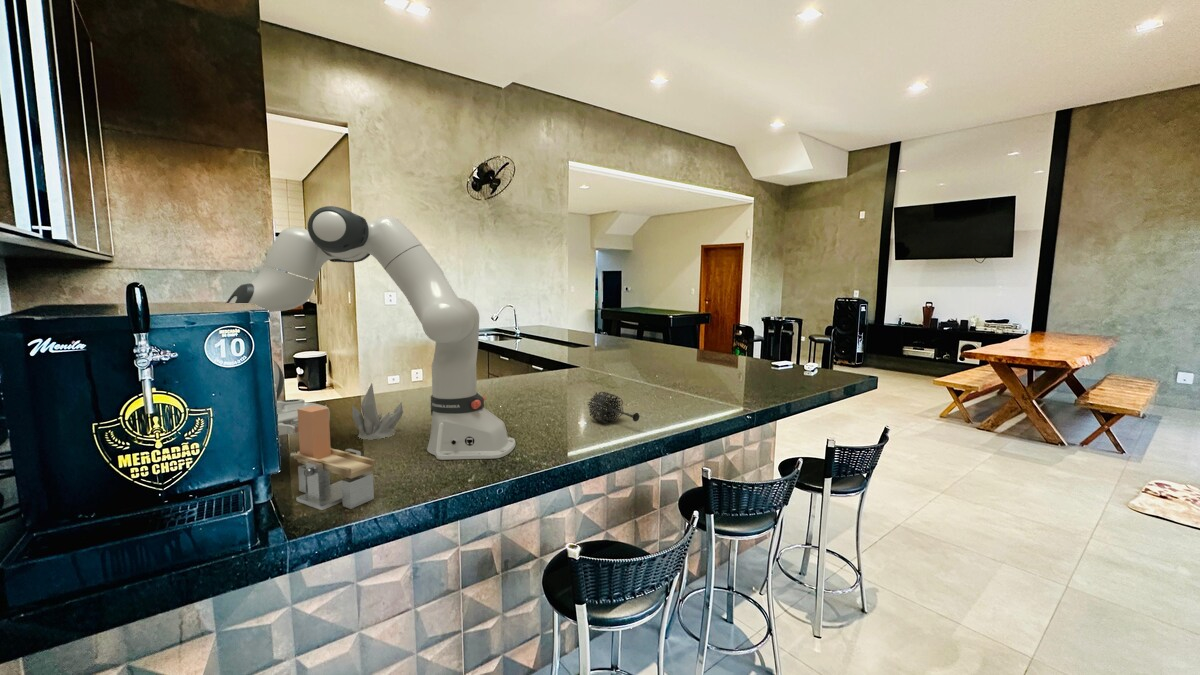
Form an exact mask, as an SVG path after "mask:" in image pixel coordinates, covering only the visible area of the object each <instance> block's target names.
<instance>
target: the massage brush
mask: <svg viewBox="0 0 1200 675" xmlns="http://www.w3.org/2000/svg"><path fill="white" fill-rule="evenodd" d="M623 403H624V402H623V400H622V398H620V397H619V396H618V395H615V394H613V393H610V392H605V391H599V392H594V394H593V397H590V401H588V403H587V404H586V405H587V406H588V411H589V414H588V415H589V416H590V417H592V419H593V420H595V421H597V422H598V421H599V422H600V423H604V424H608V425H611V424H612V425H613V424H616V423H618V421H619V419H620V417H621V416H622V415H625V416H627V417H630V418H632V420H633V422H638V421H639V420H640V414H639V413H638V412H635V413H633V414H631V413H628V412H624V408H623Z"/></svg>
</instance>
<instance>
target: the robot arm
mask: <svg viewBox="0 0 1200 675" xmlns="http://www.w3.org/2000/svg"><path fill="white" fill-rule="evenodd" d="M370 256H372V257H373V258H374V259H375V260H377V262H378V263H379V264H380V265H381V267H382V268H383V269H384V270H385V272H386V273H387V274H388V276H389V277H390V278H391V280H392V281H393V282H394V284H395V285H396V286H397V287H398V289H400V291H401V292H402V294H403V295H404V296H405V298H406V299H407V301H408V303H409V305H410V307H411V308H412V310H413V311H414V314H415V316H416V317H417V320H419V322H420V324H421V326H422V330H423V332H424V334H425V335H426V336H427V338H428V339H430V340H432V341H433V342H435V344H434V345H435V346H434V353H433V359H432V363H431V388H432V389H431V391H432V392H431V395H430V415H431V427H430V435H429V440H428V444H427V447H426V451H427V452H428V453H429V454H431V455H433V456H435V458H436V459H437V460H442V461H443V460H446V461H448V460H486V459H487V460H488V459H500V458H503V457H505V456H507V455H509V454H510V453H511V452H512V451H513V450H514V449H515V448H516V444H517V443H516V440H515V438H514V437H510V436H509V437H508V432H507V429H506V425H505V422H504V421H503V420H502V419H500V418H499V417H497V416H496V415H495V414H493V413H492V412H490V411H489V410H488V409H487V408H485V401H486V400H487V398H486V395H484V396H481V395H480V394H479V393H478V391H477V389H478V388H477V386H478V385H477V360H478V359H477V358H478V350H479V349H478V348H479V338H480V337H479V336H480V334H479V332H480V313H479V310H478V309H477V307H476V306H475V304H474V303H473V302H471V301H470V300H467V299H466V298H462V297H461V298H460V297H458V295H457V294H456V292H455V290H454V289H453V287H452V285H451V284H450V282H449V281H448V279H447V278H446V276H445V273H444V271H443V269H442V268H441V267H440V265H439V264H438V263H437V262H436V260H435V259H434V257H433V256H432V255H431V254H430V252H428V249H426V247H425V246H424V245H423V244H422V242H421V241H420V240H419V239H418V237H417V236H416V235H415V234H414V233H413V232H412V231H411V229H409V228H408V227H407V226H406V225H405V223H403V222H402V221H400V220H399V219H398V218H396V217H394V216H389V215H386V216H381V217H378V218H377V219H375V220H373V221H370V222H367V220H366V218H365V217H363V216H361V215H358V214H356V213H354V212H352V211H350V210H348V209H345V208H342V207H339V206H333V205H331V206H330V205H327V206H322V207H319V208H318V209H316V210H314V211H313V212H312V214H310V216H309V217H308V221H307V229H305V228H302V227H296V226H295V227H286V228H284V229H283V230H282V231H281V232H280V233H279V234H278V236H277V237H276V238H275V240H274V242H273V243H272V246H271V247H270V249H269V250H268V253H267V256H266V258H265V260H264V262H263V266H262V267H261V270H260V271H259V273H258V274H257V276H255V278H254V279H253V280H251V281H250V282H248V283H245V284H241V285H239V286H237V288H236V289H235V290H234V291H233V292H232V293H231V295H230V297H229V298H228V299H227V300H226V302H225V304H226V303H253V304H256V305H258V306H260V307H262V308H265V309H267V310H269V312H268V313H273V312H274V313H275V312H283V311H288V310H292V309H296V308H299V307H300V306H303V305H305V303H307V302H308V301H309V299H310V298H311V296H312V294H313V291H314V289H315V286H316V283H317V280H318V277H319V274H320V271H321V270H322V267H323V265H324V264H325V263H326V262H328V261H330V262H331V263H347V264H350V263H352V264H353V263H360V262H363V261H364V260H366V259H367V258H369V257H370ZM273 361H274V368H275V384H276V392H277V414H278V431H279V436H278V437H280V436H283V435H291V436H292V435H296V434H299V429H298V411H297V409H301V408H305V407H310V406H320V407H325V408H329V407H328V406H326V405H322V404H319V403H312V402H305V399H301V398H297V399H284V400H279V398H280V396H281V394H282V392H283V387H284V383H285V377H284V374H283V370H282V369H281V367H280V365H279V364H278V363H277V362H276V361H275V360H273ZM330 420H331V411H330V410H329V422H330Z"/></svg>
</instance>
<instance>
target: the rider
mask: <svg viewBox="0 0 1200 675" xmlns="http://www.w3.org/2000/svg"><path fill="white" fill-rule="evenodd" d="M297 411H298V429H299V433H298V442H299V443H298V444H299V445H298V446H299V454H302V455H305V456H308V457H312V458H315V459H321V458H324V457H327V456H330V455H331V448H332V446H331V432H330V430H331V429H330V421H329V411H330V408H329V407H328V408H325V407H320V406H310V407H305V408H301V409H297Z"/></svg>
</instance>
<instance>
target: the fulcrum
mask: <svg viewBox="0 0 1200 675" xmlns="http://www.w3.org/2000/svg"><path fill="white" fill-rule="evenodd" d="M344 452H350V453H352V454H355V455H359V456H363V453H362V452H361V451H360V450H357V449H353V448H346V449H345V450H344ZM363 457H364V456H363ZM297 471H298V472H297V473H298V490H299V492H301V493H303V494H301V495H299V496H297V497H296V500H295V501H296V502H298V503H300V504H303V505H305V506H307V507H311V508H314V509H316V510H319V511H323V510H327V509H328V508H331V507H333V506H336V505H338V504H341V503H342V507H344V508H346V509H350V510H353V509H354V508H357V507H359V506H362V505H364V504H367V503H368V502H370V501H373V500H375V491H374V490H375V488H374V486H375V485H374V473H372V472H367V473H365V474H362V475H359V476H357V477H354V478H348V477H345V478H344V479H341V480H339V481H336V482H333V483H331V476H330V473H331V472H328V471H325V470H323V464H321V463H318V462H315V461H308V462H306V465H305V464H302V465H299V466H297Z"/></svg>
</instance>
